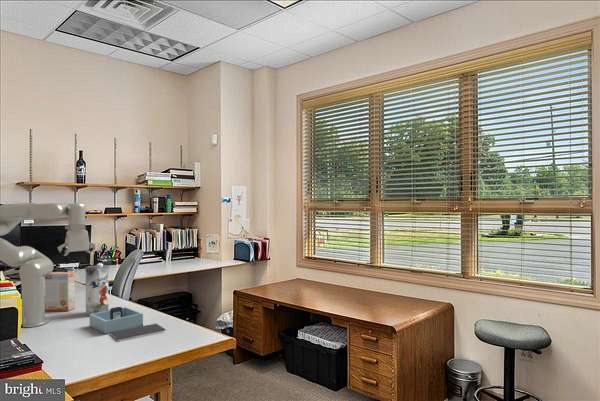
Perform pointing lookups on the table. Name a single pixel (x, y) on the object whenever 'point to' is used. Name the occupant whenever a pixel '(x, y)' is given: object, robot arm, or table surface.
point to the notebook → (137, 332)
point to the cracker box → (59, 291)
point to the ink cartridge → (115, 313)
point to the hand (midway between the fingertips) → (77, 262)
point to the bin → (116, 321)
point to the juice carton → (96, 288)
